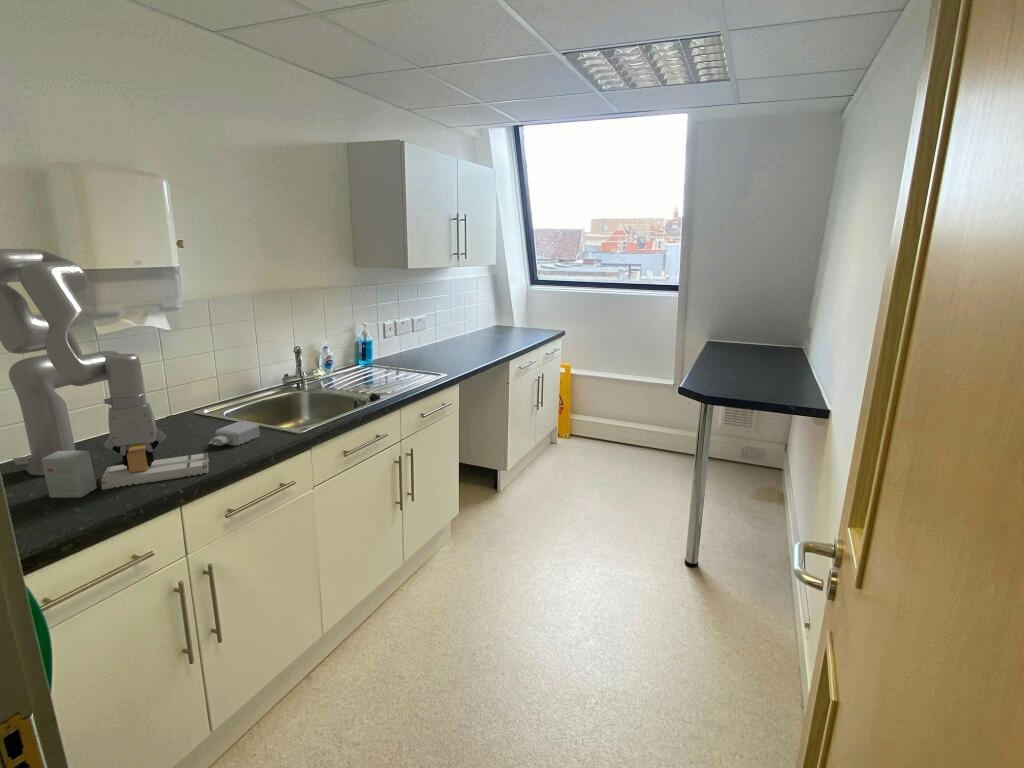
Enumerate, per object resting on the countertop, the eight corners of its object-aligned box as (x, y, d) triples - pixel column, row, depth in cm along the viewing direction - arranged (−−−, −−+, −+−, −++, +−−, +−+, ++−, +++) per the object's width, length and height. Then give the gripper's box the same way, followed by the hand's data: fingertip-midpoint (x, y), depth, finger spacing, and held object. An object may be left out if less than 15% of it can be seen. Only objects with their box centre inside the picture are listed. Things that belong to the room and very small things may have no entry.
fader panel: (102, 489, 142) (100, 480, 142) (109, 475, 151) (107, 466, 150) (207, 473, 153) (206, 464, 152) (208, 460, 162) (207, 452, 161)
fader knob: (130, 476, 146) (126, 454, 145) (133, 468, 151) (129, 447, 150) (148, 473, 148) (144, 452, 147) (150, 466, 153) (147, 445, 152)
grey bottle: (200, 449, 171) (238, 434, 185) (223, 453, 168) (260, 437, 182) (198, 435, 170) (236, 420, 184) (221, 438, 167) (258, 424, 181)
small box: (97, 488, 143) (90, 450, 140) (81, 498, 138) (74, 458, 135) (65, 488, 143) (57, 450, 140) (48, 498, 137) (40, 458, 135)
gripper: (86, 408, 138) (99, 476, 142) (165, 401, 145) (174, 465, 150) (92, 401, 144) (104, 466, 149) (167, 394, 152) (176, 456, 156)
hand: (139, 465), depth 149 cm, fingers closed on fader knob, 4 cm apart
